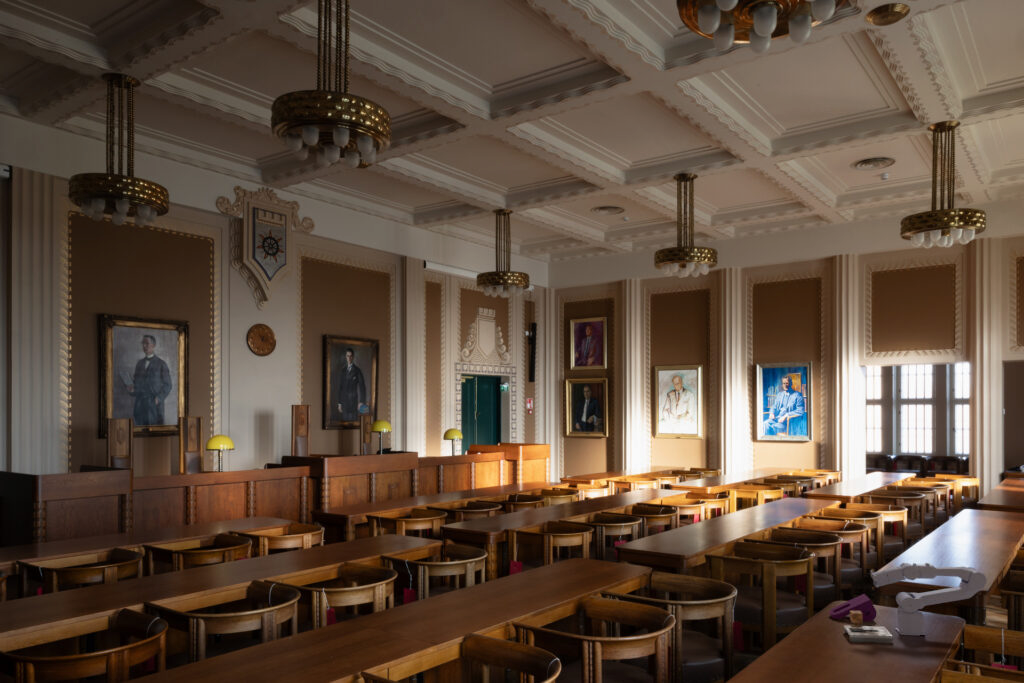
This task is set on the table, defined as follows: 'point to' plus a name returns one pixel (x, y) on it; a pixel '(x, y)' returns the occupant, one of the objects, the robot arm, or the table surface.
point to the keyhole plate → (868, 634)
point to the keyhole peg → (856, 617)
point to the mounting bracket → (855, 608)
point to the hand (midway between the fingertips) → (853, 585)
